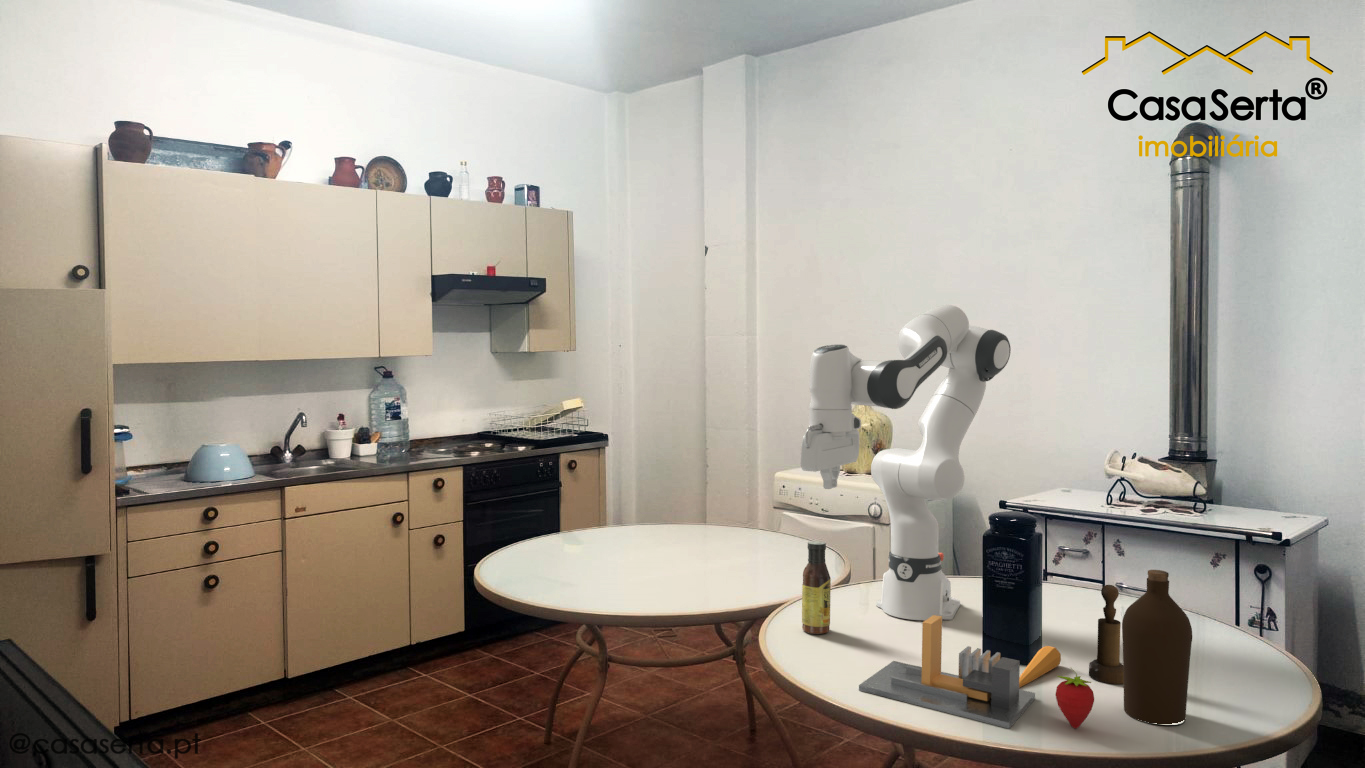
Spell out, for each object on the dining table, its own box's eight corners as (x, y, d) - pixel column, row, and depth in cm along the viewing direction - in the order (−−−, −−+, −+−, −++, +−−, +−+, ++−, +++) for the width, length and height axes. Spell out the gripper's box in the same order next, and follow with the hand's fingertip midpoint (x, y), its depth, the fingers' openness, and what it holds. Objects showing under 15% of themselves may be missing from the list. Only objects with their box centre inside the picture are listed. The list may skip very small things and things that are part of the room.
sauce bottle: (829, 636, 191) (830, 546, 190) (800, 634, 192) (801, 545, 192) (830, 627, 197) (831, 540, 197) (802, 625, 199) (803, 539, 198)
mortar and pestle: (1128, 676, 169) (1130, 584, 168) (1125, 687, 163) (1128, 592, 163) (1090, 669, 172) (1092, 579, 172) (1087, 680, 167) (1089, 586, 166)
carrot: (1046, 666, 176) (1038, 644, 177) (1068, 663, 173) (1058, 641, 174) (1004, 704, 162) (995, 680, 163) (1027, 702, 159) (1017, 677, 160)
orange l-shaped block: (932, 678, 163) (933, 614, 163) (995, 693, 156) (996, 626, 156) (921, 687, 159) (922, 622, 158) (985, 702, 152) (987, 634, 152)
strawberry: (1051, 732, 143) (1053, 672, 143) (1057, 716, 150) (1059, 658, 150) (1091, 740, 140) (1093, 679, 140) (1095, 723, 147) (1097, 665, 147)
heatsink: (893, 665, 173) (894, 625, 173) (1035, 698, 157) (1036, 654, 157) (858, 690, 161) (859, 647, 160) (1009, 728, 145) (1010, 681, 144)
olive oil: (1142, 728, 145) (1146, 580, 144) (1107, 703, 156) (1111, 564, 155) (1203, 727, 146) (1208, 579, 145) (1165, 702, 156) (1169, 564, 155)
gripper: (820, 426, 172) (820, 496, 173) (864, 419, 189) (864, 483, 189) (792, 425, 176) (792, 493, 176) (838, 418, 192) (838, 480, 193)
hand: (830, 488), depth 183 cm, fingers closed
